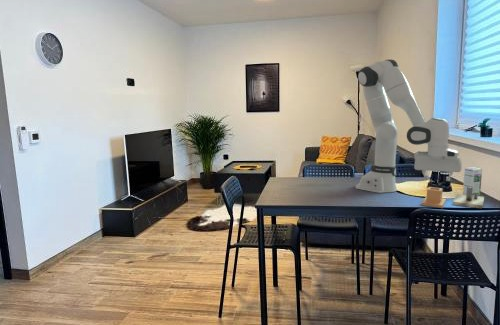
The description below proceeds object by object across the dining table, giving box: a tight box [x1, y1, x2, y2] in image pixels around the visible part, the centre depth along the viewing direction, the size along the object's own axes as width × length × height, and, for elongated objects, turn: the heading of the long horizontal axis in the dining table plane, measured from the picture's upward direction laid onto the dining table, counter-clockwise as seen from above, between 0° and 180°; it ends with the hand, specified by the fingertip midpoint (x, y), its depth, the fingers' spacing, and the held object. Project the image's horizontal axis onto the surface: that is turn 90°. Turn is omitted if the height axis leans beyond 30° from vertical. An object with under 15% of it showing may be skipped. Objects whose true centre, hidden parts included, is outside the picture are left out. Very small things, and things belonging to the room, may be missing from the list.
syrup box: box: [462, 167, 483, 196], centre depth 184 cm, size 6×6×14 cm
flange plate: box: [421, 186, 447, 209], centre depth 171 cm, size 14×9×7 cm, turn 144°
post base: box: [452, 193, 485, 209], centre depth 172 cm, size 12×18×2 cm, turn 144°
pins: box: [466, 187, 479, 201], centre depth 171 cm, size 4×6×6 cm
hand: (436, 179), depth 169 cm, fingers open, 8 cm apart
